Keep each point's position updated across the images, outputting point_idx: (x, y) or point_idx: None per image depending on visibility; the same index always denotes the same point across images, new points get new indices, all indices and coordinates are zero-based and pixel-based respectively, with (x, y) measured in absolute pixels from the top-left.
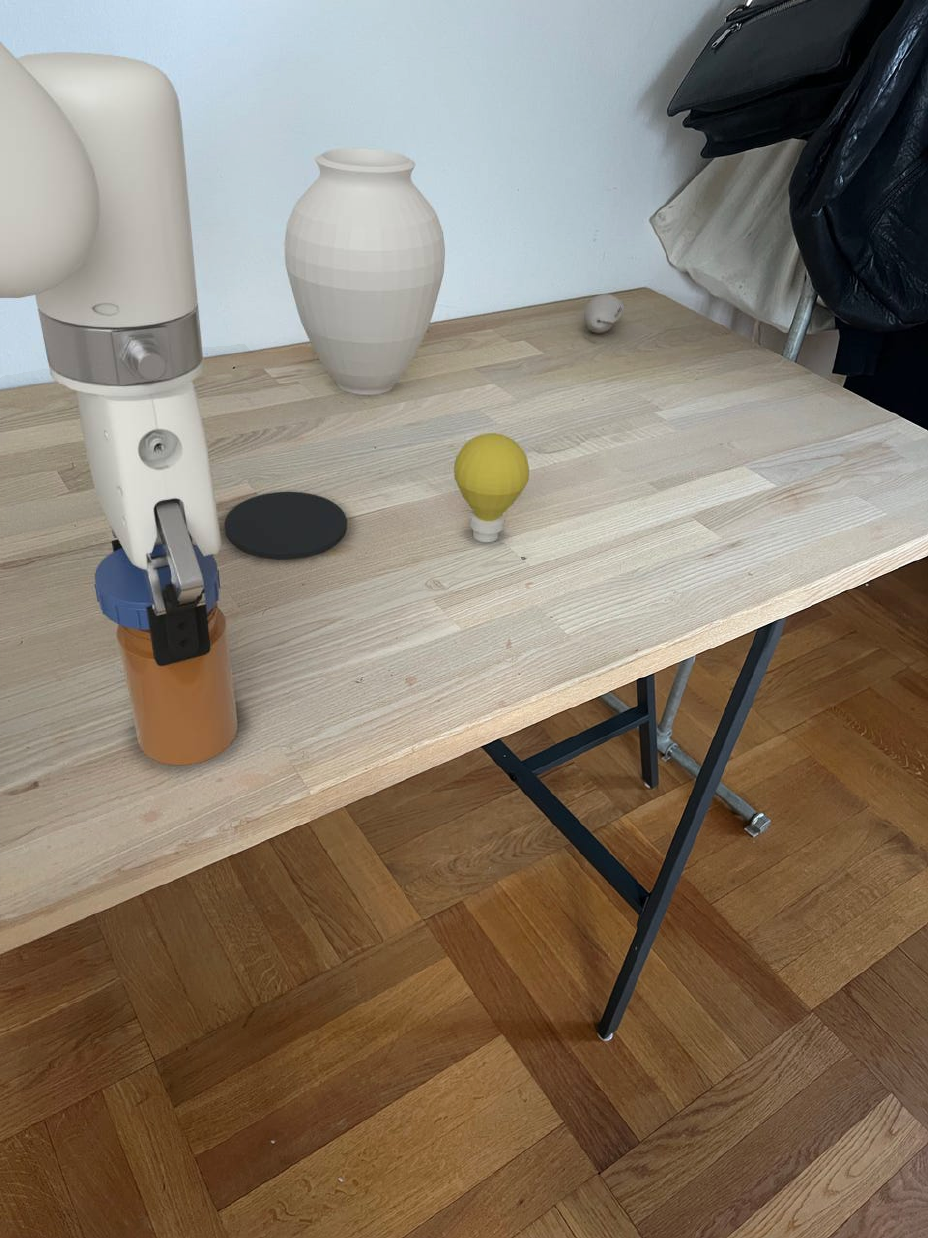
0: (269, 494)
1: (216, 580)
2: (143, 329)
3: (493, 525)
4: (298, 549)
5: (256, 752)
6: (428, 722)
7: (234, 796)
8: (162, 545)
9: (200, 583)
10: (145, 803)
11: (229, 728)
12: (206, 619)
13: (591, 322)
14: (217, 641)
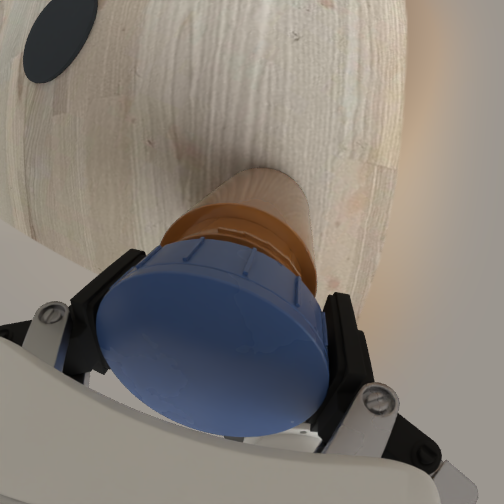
0: (26, 42)
1: (289, 300)
2: None
3: None
4: (84, 25)
5: (329, 178)
6: (391, 31)
7: (362, 225)
8: (116, 329)
9: (473, 494)
10: (318, 281)
11: (303, 196)
12: (358, 337)
13: None
14: (308, 251)
